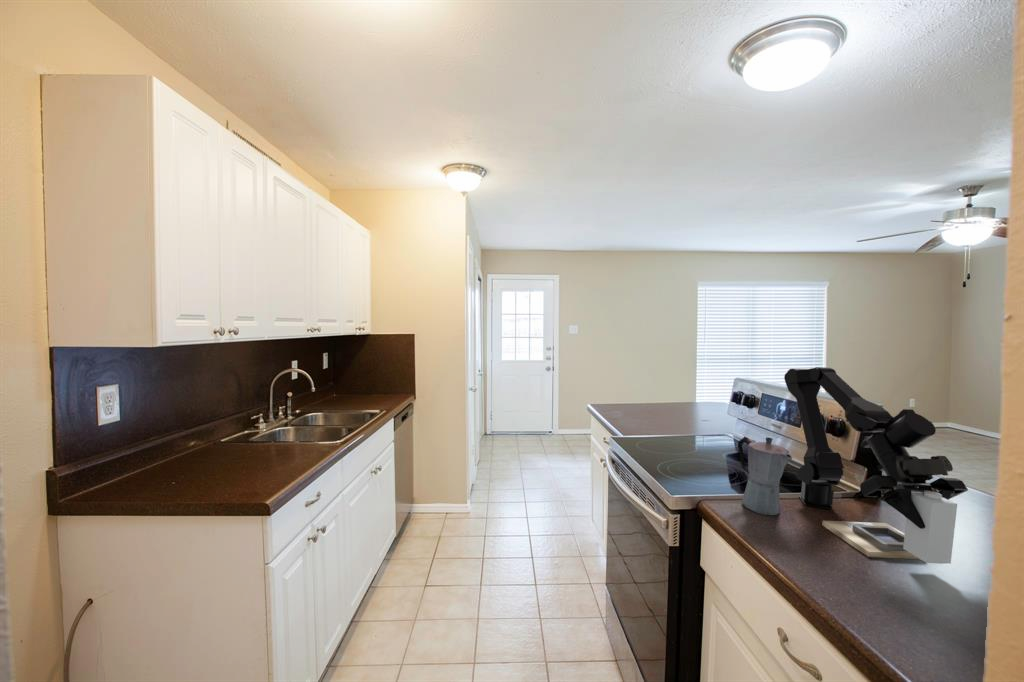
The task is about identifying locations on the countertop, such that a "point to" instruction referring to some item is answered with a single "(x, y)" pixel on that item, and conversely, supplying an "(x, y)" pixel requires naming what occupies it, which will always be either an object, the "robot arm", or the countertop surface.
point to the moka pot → (763, 475)
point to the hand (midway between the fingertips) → (936, 528)
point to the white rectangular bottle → (931, 528)
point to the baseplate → (871, 538)
